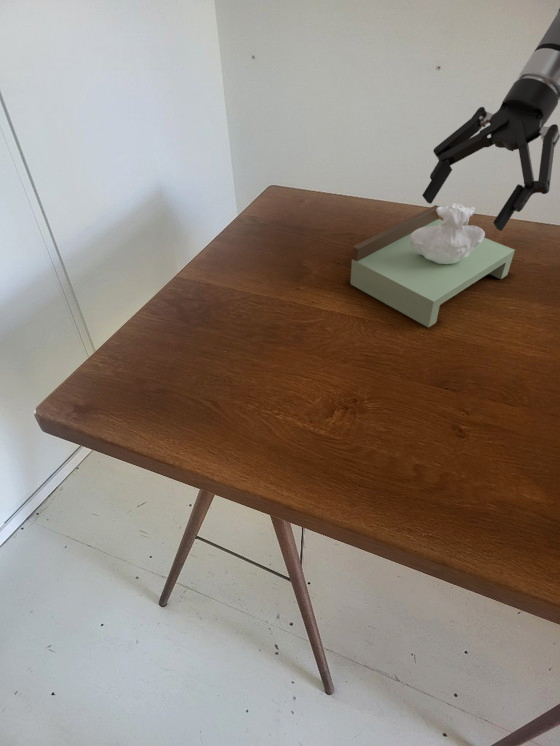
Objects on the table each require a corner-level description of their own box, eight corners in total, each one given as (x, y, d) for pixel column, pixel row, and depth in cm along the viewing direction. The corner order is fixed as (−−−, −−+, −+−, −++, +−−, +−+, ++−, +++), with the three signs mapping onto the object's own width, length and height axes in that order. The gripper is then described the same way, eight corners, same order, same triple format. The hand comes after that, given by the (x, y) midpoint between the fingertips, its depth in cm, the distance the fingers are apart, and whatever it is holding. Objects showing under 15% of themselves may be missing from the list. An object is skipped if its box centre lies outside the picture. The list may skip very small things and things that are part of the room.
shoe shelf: (507, 275, 91) (519, 236, 86) (428, 327, 81) (436, 288, 76) (429, 240, 101) (435, 204, 96) (350, 284, 91) (352, 246, 86)
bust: (405, 271, 88) (421, 245, 77) (403, 229, 89) (418, 197, 78) (477, 270, 88) (502, 243, 77) (474, 227, 89) (498, 195, 78)
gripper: (619, 123, 77) (535, 249, 80) (474, 91, 91) (408, 199, 95) (617, 91, 71) (526, 229, 74) (462, 62, 85) (392, 179, 89)
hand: (460, 212), depth 85 cm, fingers open, 13 cm apart
